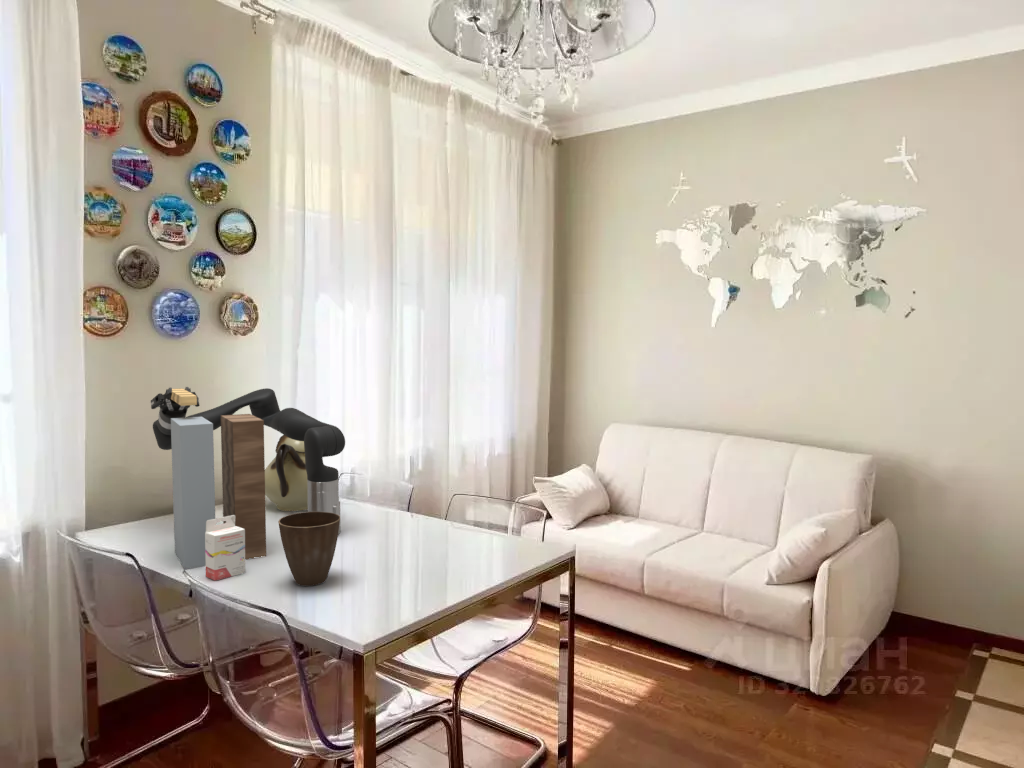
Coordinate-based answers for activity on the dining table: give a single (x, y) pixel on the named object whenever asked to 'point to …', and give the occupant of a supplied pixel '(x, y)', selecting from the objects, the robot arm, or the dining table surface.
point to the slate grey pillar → (192, 487)
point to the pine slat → (183, 397)
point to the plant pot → (309, 545)
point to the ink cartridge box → (224, 548)
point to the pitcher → (287, 476)
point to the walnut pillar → (245, 478)
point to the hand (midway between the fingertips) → (179, 390)
